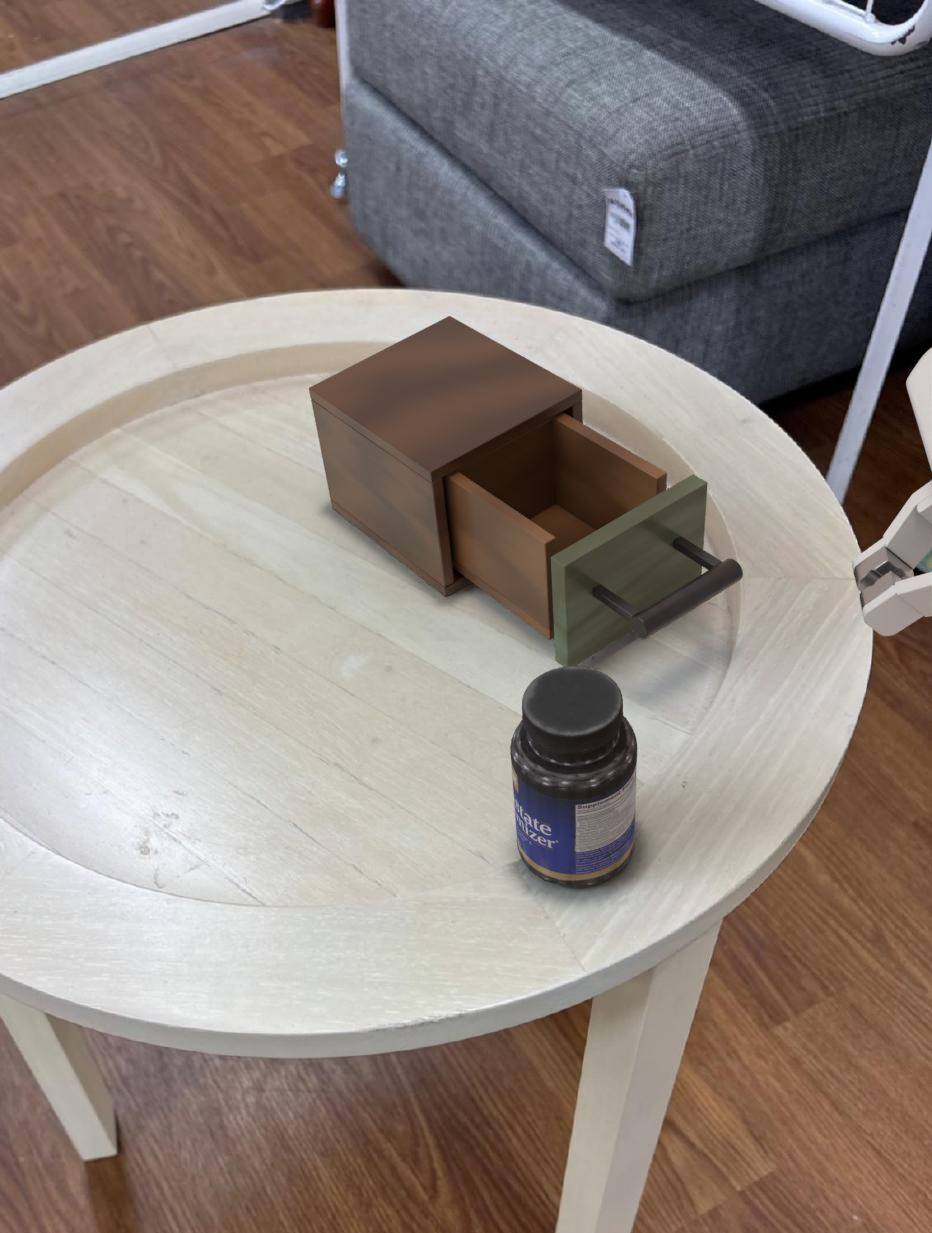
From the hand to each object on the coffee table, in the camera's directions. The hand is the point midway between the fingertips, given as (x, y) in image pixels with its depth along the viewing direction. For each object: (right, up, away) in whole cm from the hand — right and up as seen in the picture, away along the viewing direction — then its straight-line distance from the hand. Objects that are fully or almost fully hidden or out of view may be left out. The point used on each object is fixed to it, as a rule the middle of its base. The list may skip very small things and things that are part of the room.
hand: (866, 601), depth 55 cm
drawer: (-6, +4, +25) cm, 26 cm away
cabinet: (-14, +12, +35) cm, 39 cm away
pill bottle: (-9, -11, +14) cm, 20 cm away
